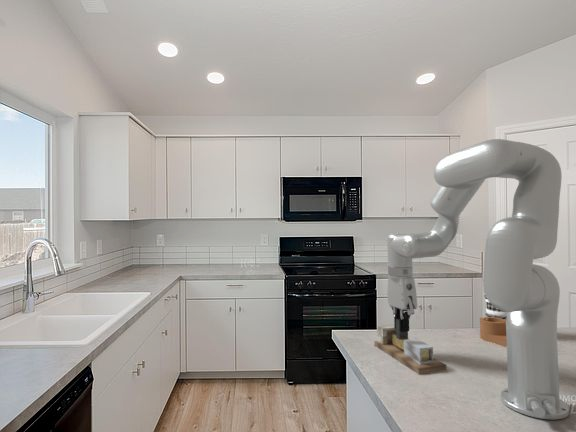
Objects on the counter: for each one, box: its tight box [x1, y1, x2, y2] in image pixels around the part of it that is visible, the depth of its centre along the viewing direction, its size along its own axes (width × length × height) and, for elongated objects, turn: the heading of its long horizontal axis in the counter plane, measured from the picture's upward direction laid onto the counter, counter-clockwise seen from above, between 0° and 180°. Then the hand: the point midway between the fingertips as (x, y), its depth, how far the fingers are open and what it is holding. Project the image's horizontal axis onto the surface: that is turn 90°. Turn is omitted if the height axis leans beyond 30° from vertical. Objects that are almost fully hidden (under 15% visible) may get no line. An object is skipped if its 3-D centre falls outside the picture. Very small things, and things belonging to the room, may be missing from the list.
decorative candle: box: [483, 286, 507, 320], centre depth 131 cm, size 9×9×25 cm
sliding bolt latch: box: [374, 323, 447, 375], centre depth 110 cm, size 24×9×7 cm, turn 15°
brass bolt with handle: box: [392, 318, 429, 360], centre depth 109 cm, size 15×3×9 cm, turn 15°
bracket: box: [479, 316, 507, 348], centre depth 121 cm, size 18×8×7 cm, turn 27°
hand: (401, 329), depth 113 cm, fingers closed on brass bolt with handle, 2 cm apart
